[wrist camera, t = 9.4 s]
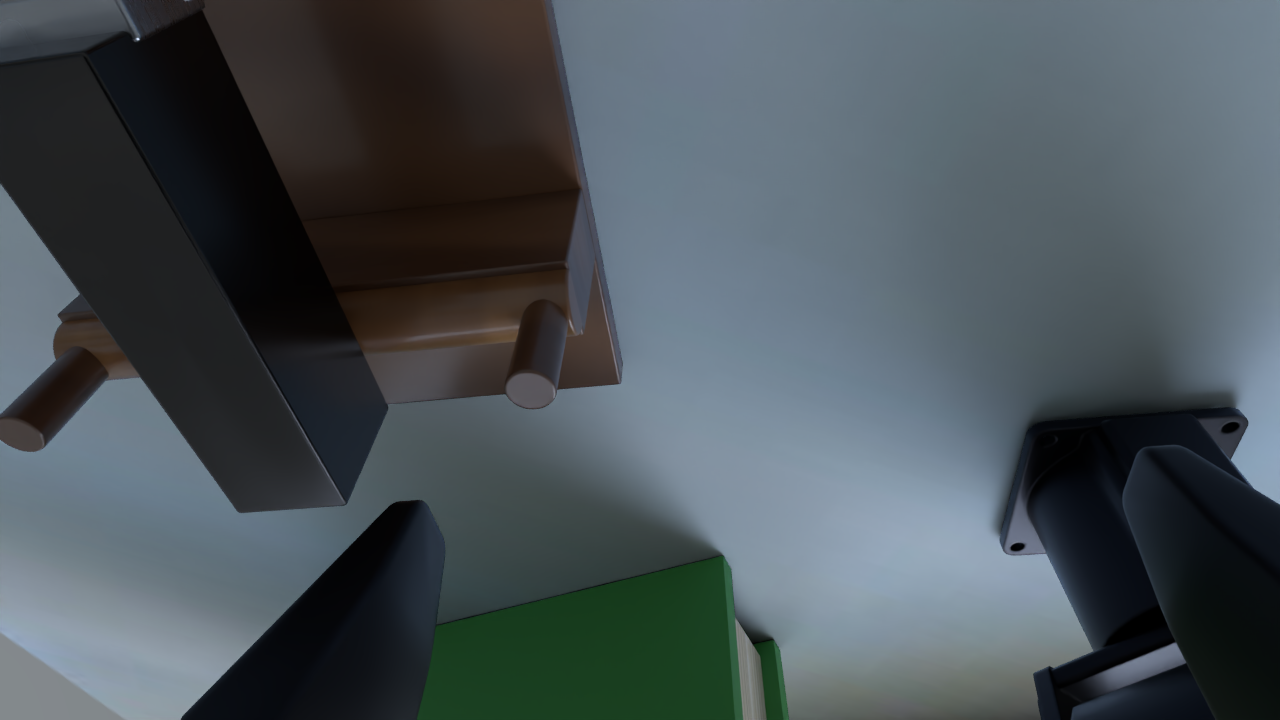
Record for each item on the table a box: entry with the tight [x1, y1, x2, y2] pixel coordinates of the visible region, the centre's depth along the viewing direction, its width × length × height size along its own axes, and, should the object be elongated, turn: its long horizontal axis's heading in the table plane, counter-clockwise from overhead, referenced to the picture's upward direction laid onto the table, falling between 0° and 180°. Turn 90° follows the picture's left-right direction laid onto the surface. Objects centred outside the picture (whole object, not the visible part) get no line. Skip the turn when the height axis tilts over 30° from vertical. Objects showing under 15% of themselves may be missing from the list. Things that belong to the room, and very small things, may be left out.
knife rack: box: [0, 0, 623, 452], centre depth 15 cm, size 20×12×8 cm, turn 8°
